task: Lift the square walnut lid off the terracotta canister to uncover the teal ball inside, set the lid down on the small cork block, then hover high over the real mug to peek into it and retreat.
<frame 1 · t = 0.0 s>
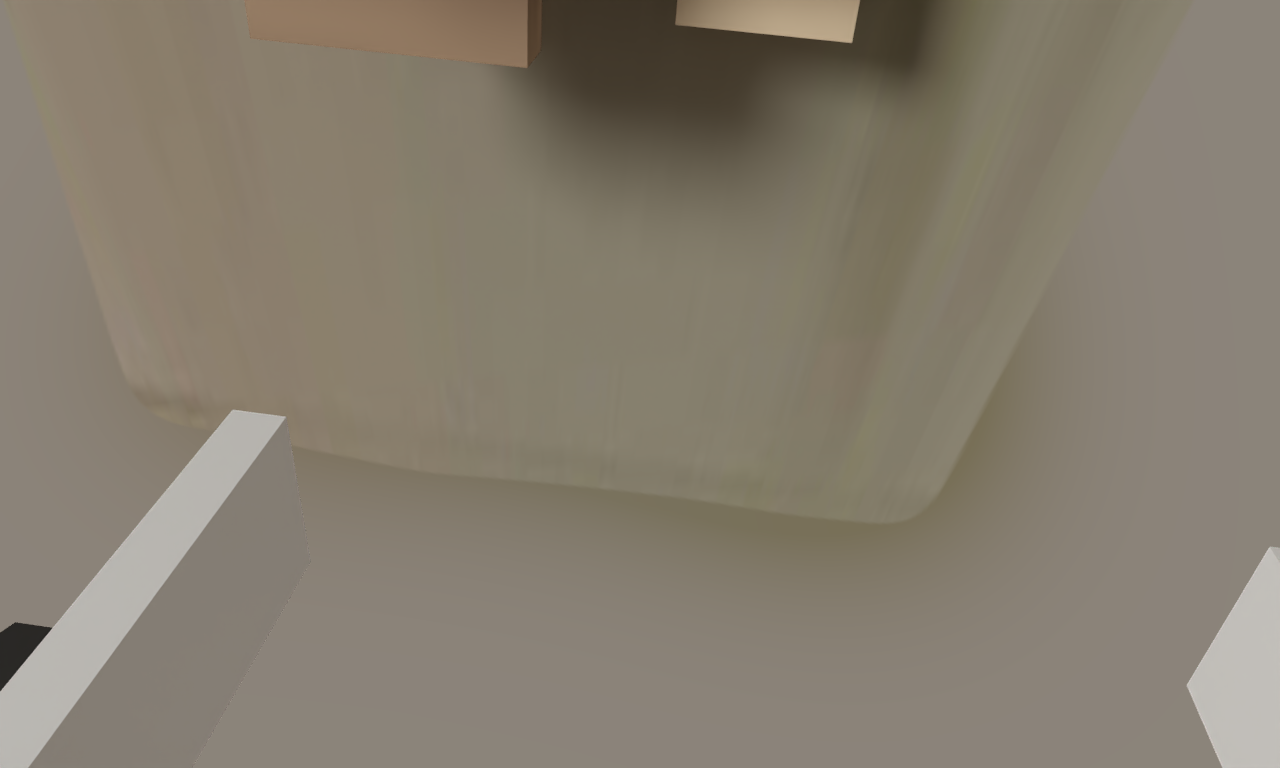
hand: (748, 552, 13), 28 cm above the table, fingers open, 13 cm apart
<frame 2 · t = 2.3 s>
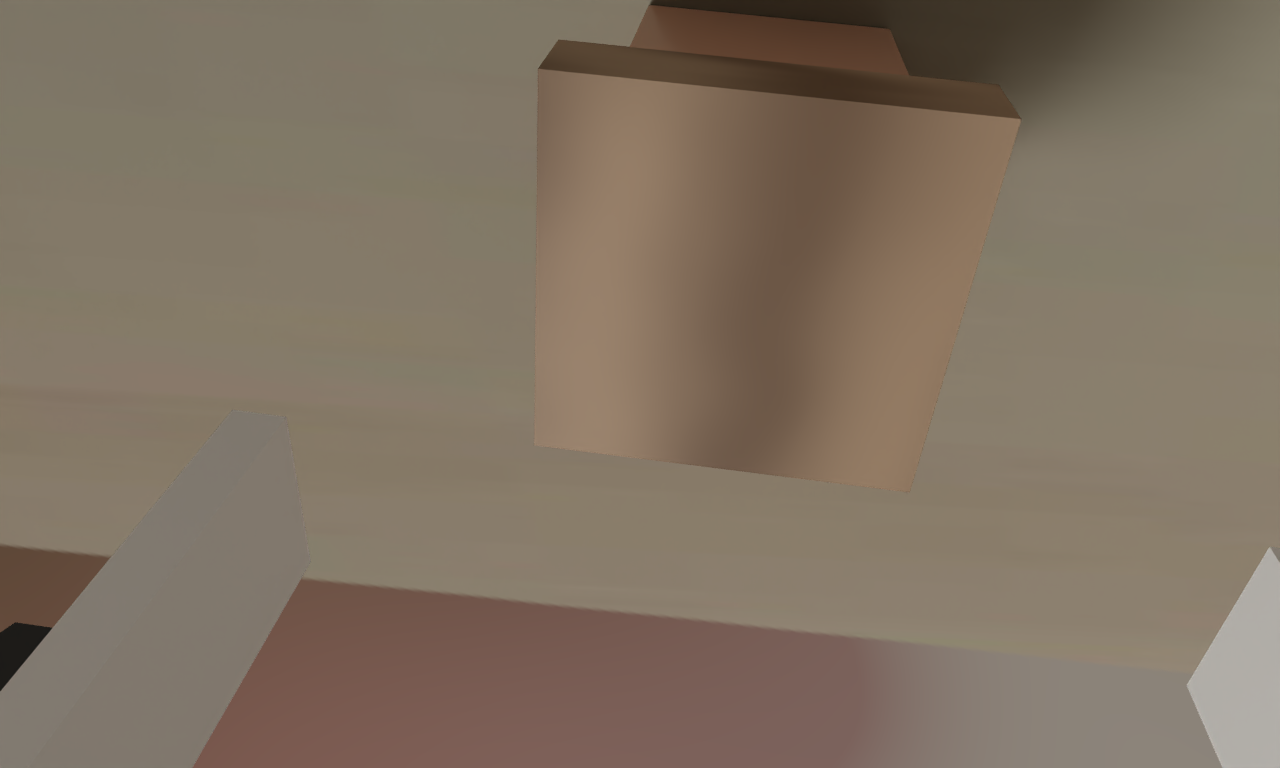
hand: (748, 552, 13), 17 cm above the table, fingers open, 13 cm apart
canister: (752, 133, 27), on the table
lid: (746, 259, 21), point 8 cm above the table, touching canister
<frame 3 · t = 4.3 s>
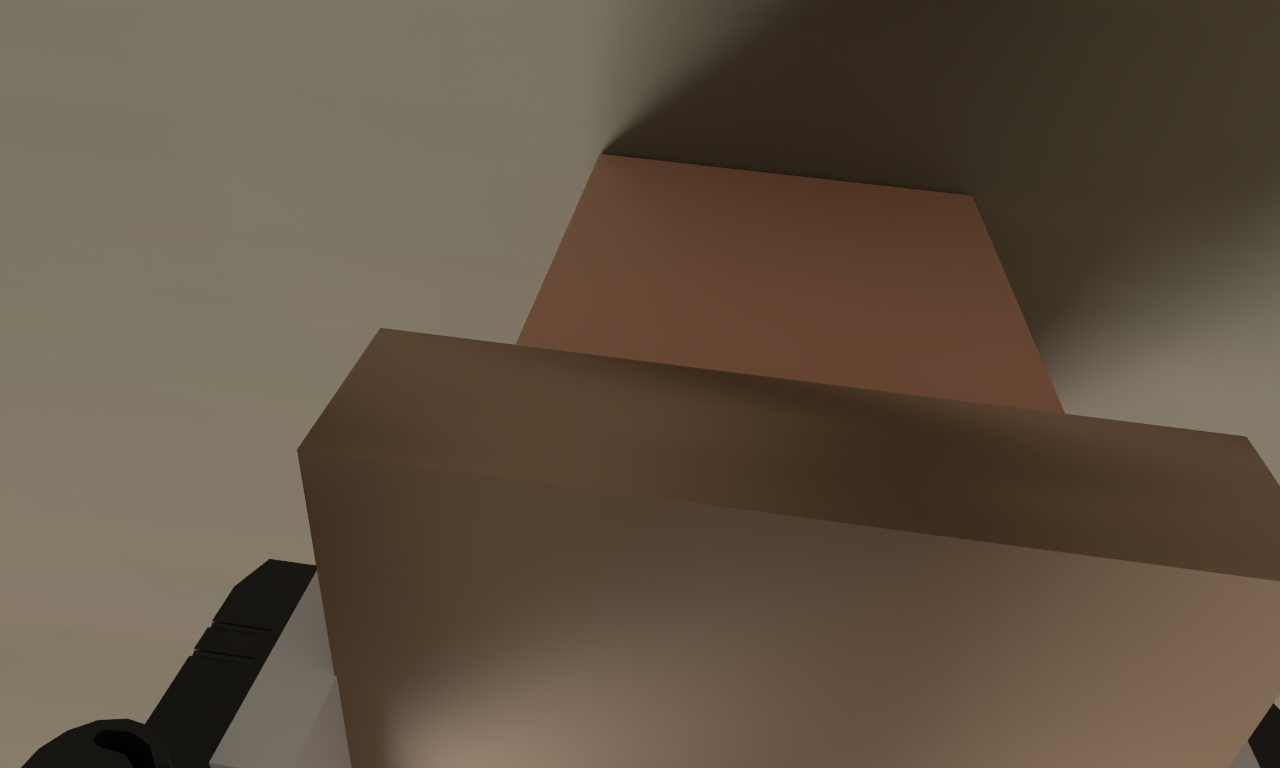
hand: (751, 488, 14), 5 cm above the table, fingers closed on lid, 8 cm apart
canister: (757, 333, 18), on the table
lid: (744, 666, 12), point 8 cm above the table, touching canister, gripper
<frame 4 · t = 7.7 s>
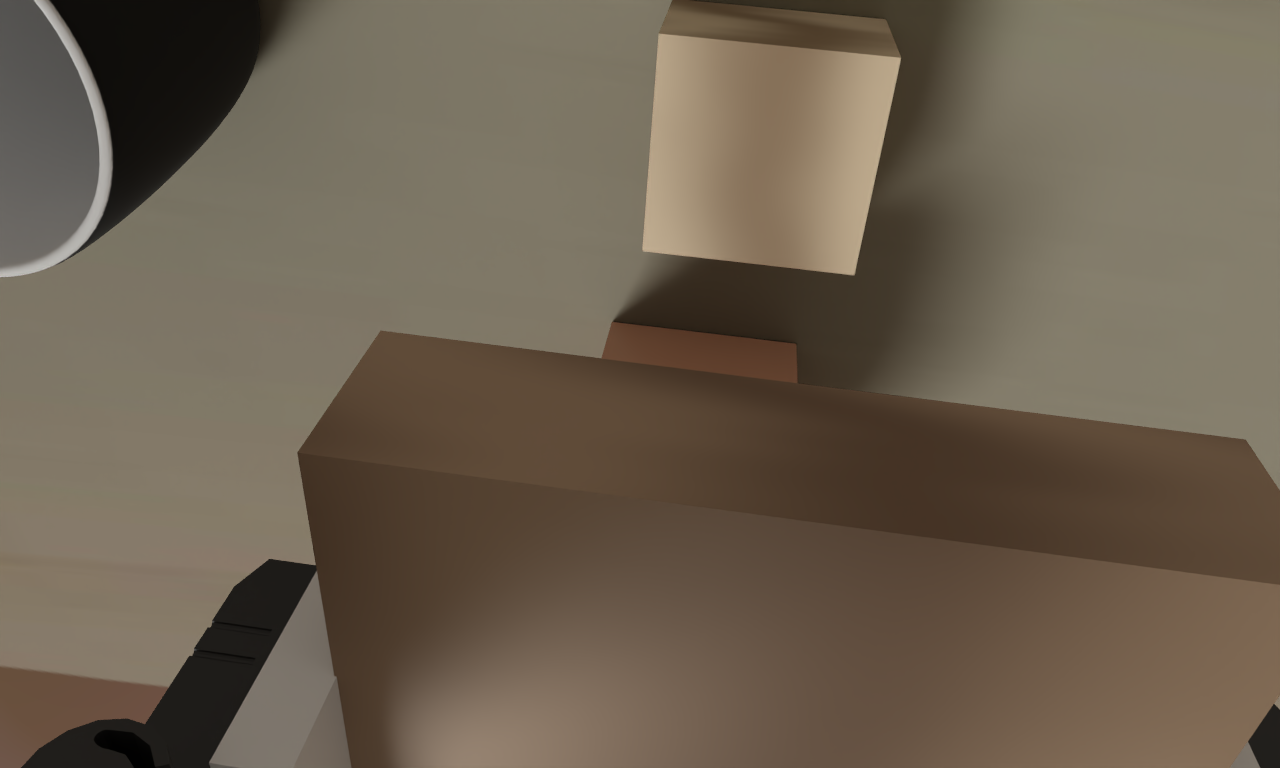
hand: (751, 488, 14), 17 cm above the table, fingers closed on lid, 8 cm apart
canister: (694, 407, 35), on the table
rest: (764, 113, 29), on the table
lid: (744, 668, 12), point 21 cm above the table, touching gripper
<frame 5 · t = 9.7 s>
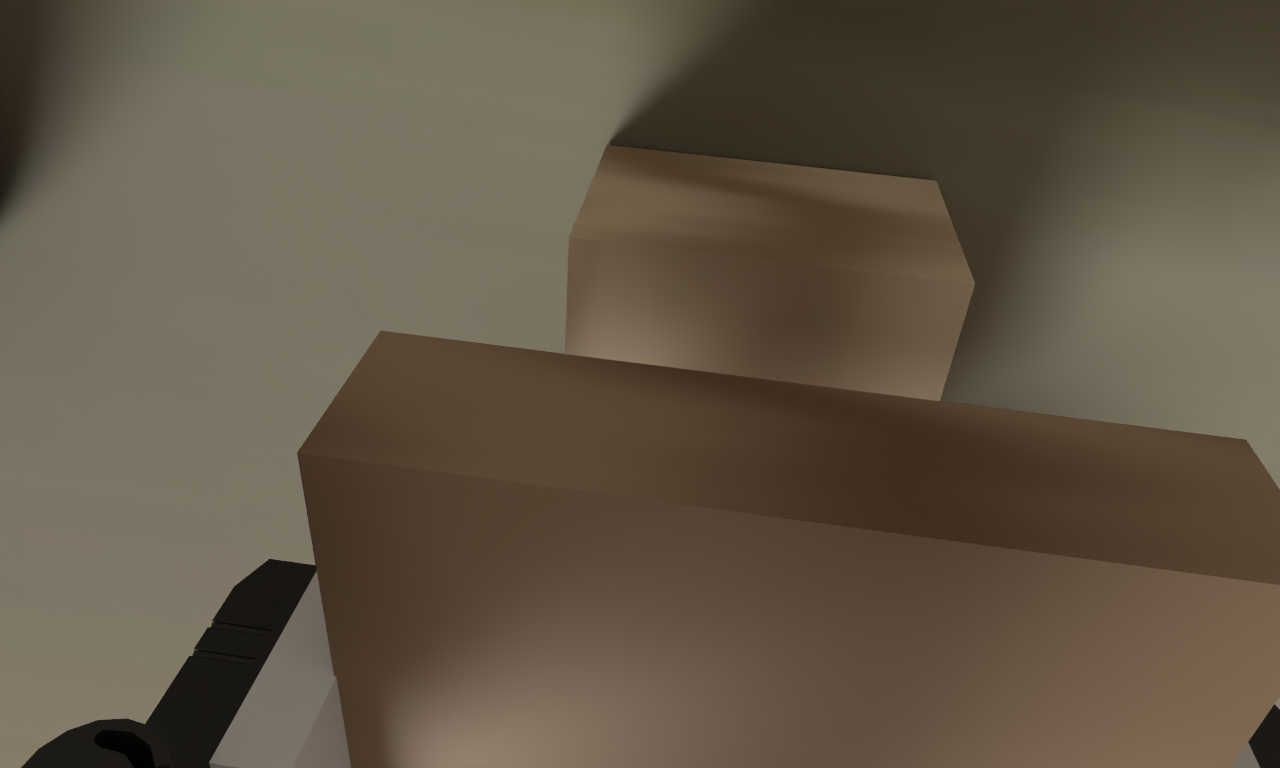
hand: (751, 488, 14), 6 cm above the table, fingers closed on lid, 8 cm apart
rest: (748, 306, 19), on the table
lid: (744, 668, 12), point 9 cm above the table, touching gripper
when the fingers open (2 cm above the table, at t = 11.4 s): lid drops 1 cm, resting on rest.
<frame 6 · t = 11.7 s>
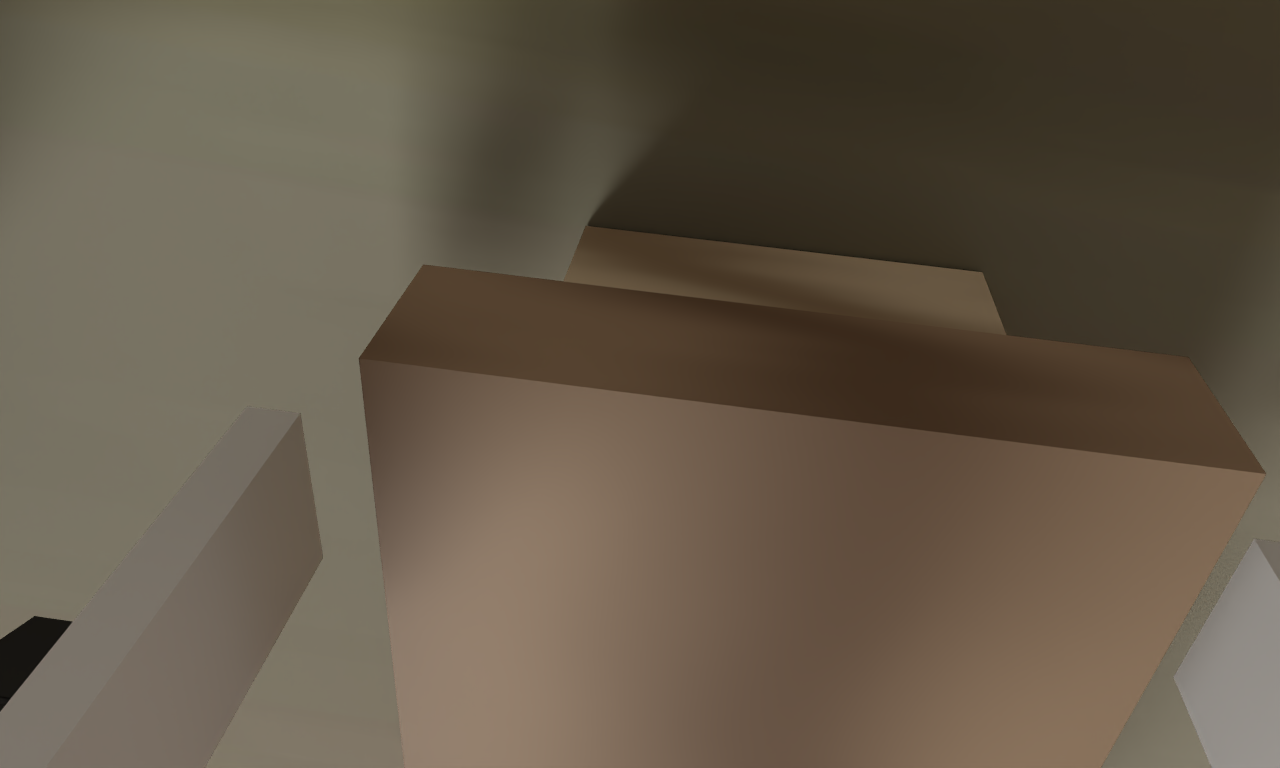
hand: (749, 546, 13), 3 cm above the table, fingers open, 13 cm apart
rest: (754, 409, 16), on the table
lid: (745, 581, 13), point 4 cm above the table, touching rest
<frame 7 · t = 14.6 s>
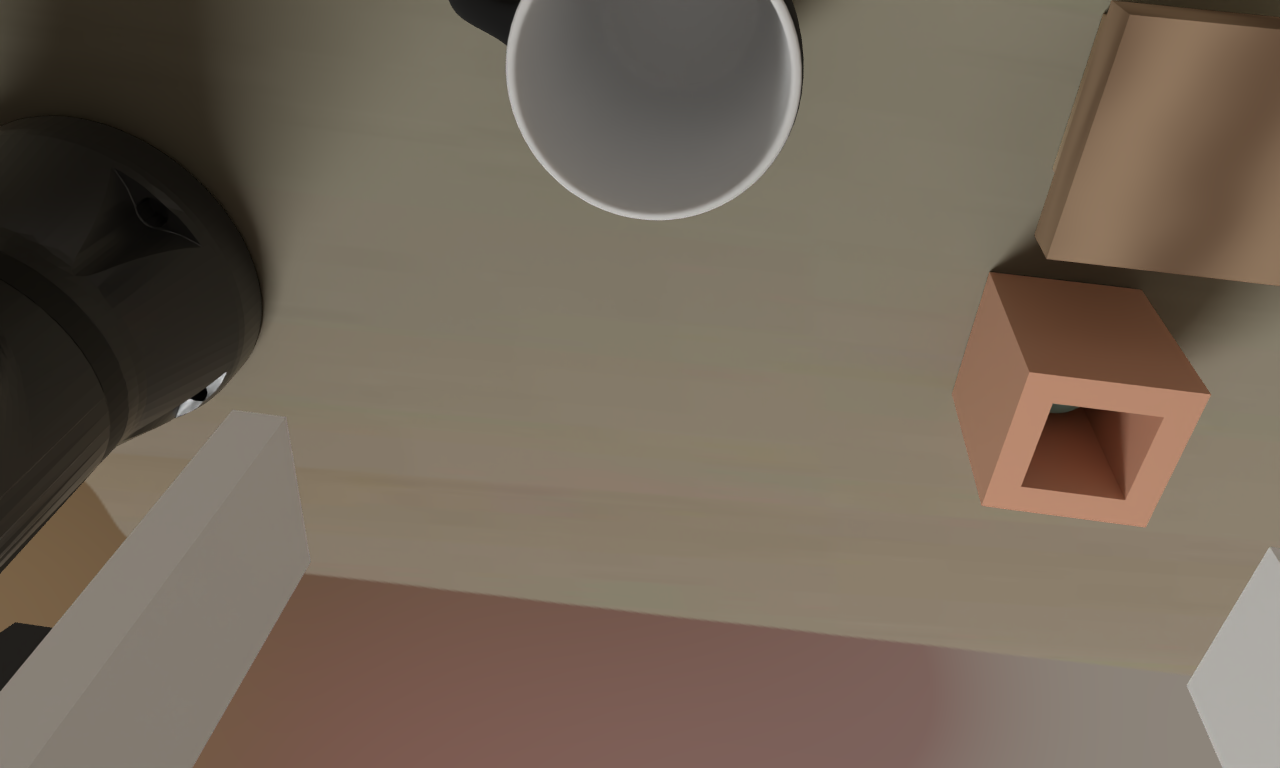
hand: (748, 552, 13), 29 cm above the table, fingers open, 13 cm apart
canister: (1042, 344, 43), on the table
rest: (1156, 103, 37), on the table
lid: (1192, 139, 33), point 4 cm above the table, touching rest
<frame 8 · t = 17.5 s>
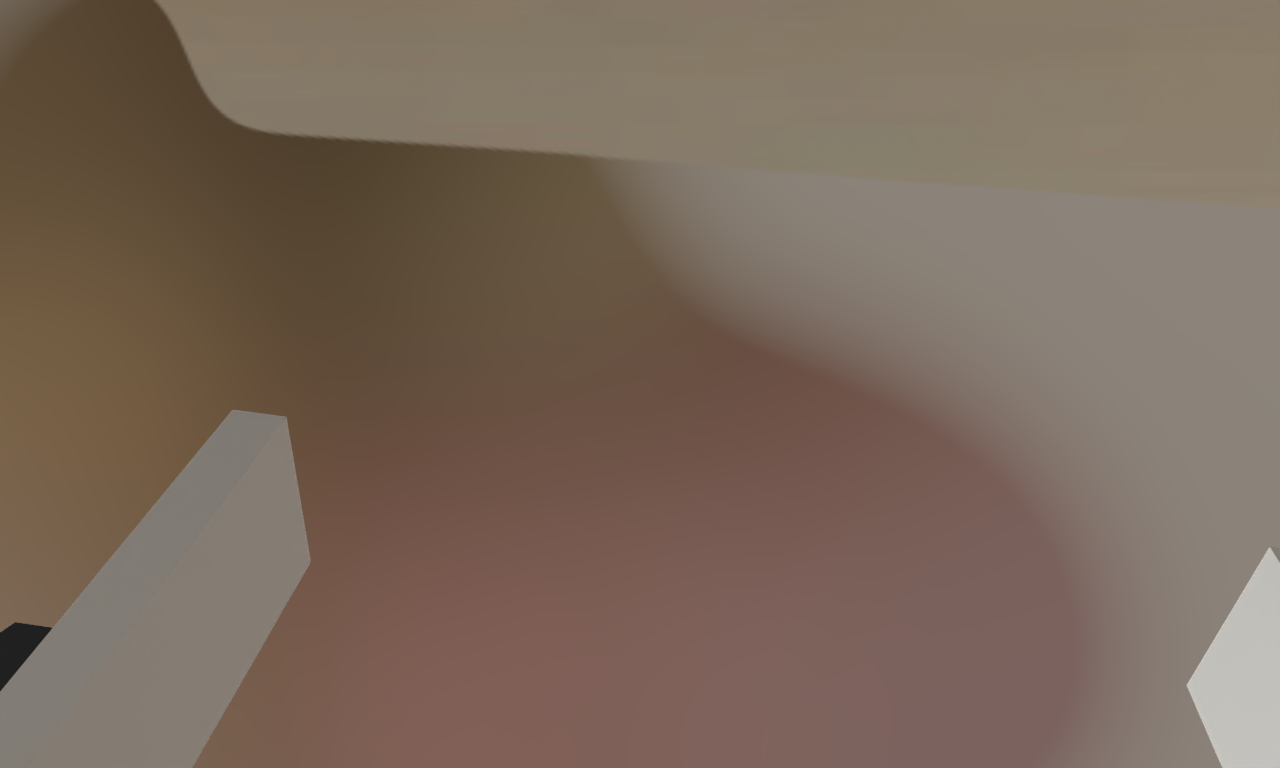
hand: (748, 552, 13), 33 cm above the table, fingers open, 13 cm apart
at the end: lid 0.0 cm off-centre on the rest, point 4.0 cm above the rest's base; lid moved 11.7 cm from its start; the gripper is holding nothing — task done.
